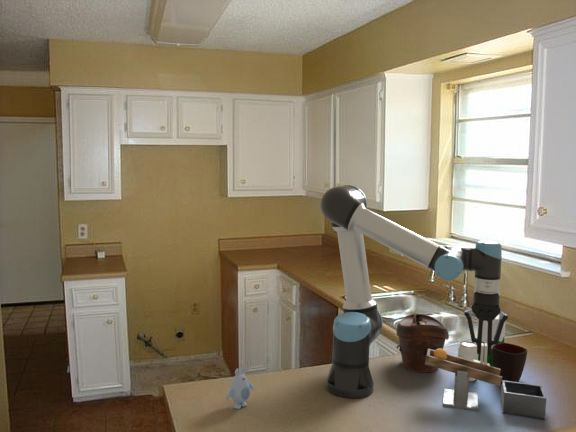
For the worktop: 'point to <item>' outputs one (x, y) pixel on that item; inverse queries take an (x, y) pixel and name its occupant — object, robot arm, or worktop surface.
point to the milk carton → (484, 336)
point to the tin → (523, 399)
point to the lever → (465, 367)
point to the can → (468, 352)
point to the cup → (509, 360)
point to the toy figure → (239, 389)
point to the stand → (461, 393)
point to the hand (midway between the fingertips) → (483, 364)
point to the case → (420, 340)
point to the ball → (440, 354)
